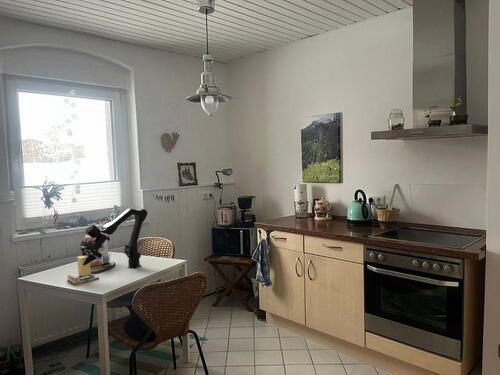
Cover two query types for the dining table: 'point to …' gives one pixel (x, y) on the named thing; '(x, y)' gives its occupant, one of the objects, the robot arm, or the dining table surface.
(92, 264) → the cracker box
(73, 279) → the flat tray
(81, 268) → the pillar
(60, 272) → the dining table surface
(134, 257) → the robot arm
